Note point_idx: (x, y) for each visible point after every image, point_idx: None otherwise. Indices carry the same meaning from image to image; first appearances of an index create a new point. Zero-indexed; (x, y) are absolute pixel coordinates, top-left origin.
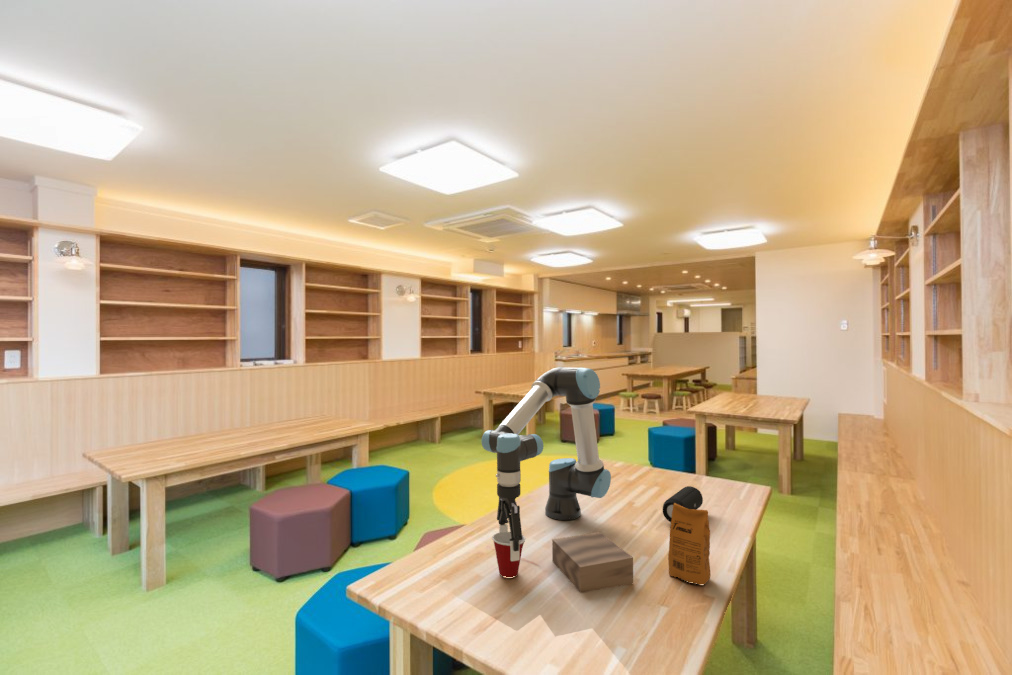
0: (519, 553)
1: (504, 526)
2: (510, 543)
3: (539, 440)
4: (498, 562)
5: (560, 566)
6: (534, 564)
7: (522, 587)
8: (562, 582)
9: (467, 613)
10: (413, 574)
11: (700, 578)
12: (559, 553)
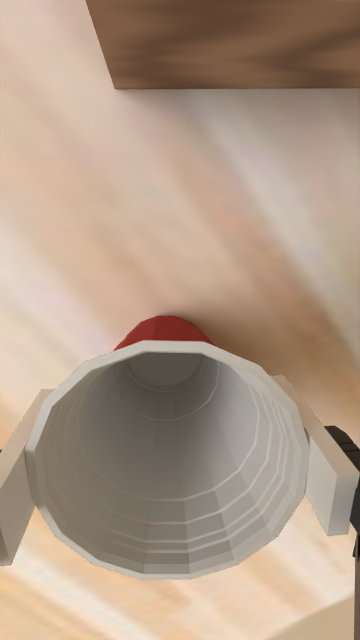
0: (299, 396)
1: (6, 518)
2: (312, 503)
3: None
4: (180, 435)
5: (234, 75)
6: (103, 203)
7: (282, 327)
8: (321, 128)
9: None
10: (77, 620)
11: None
12: (240, 35)
